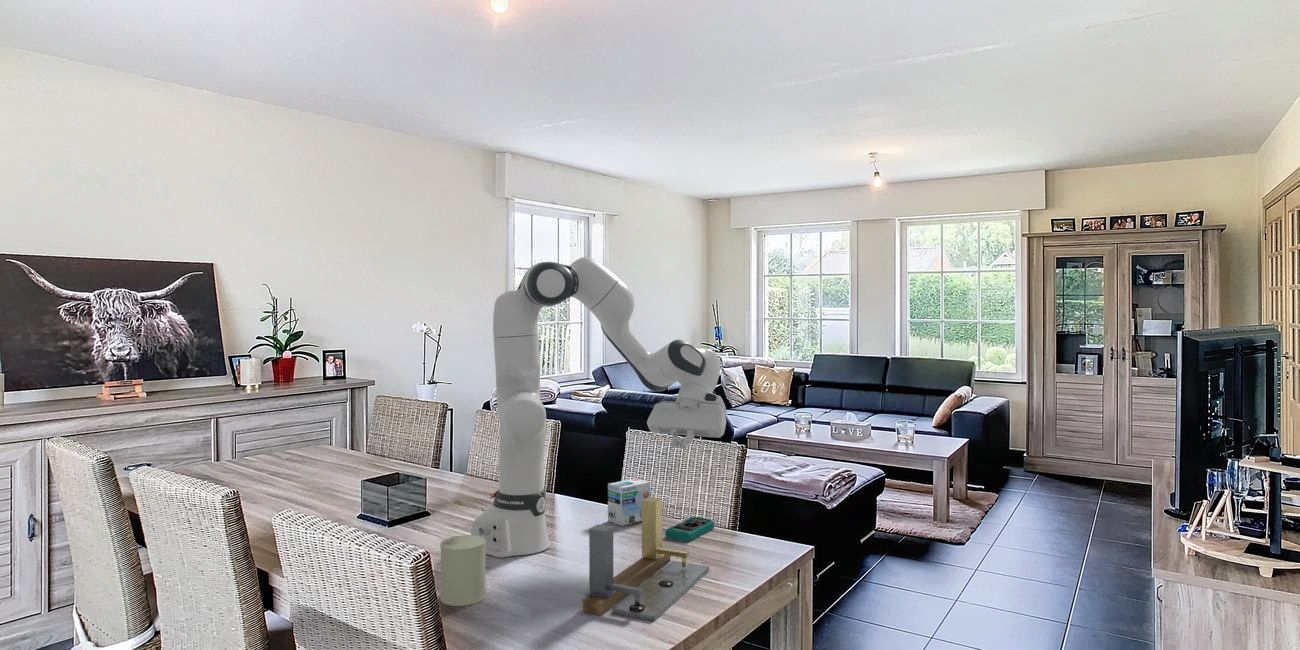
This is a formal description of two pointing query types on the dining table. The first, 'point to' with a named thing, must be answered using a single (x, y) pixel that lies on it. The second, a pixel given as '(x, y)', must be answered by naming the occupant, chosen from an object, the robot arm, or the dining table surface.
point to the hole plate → (661, 591)
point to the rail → (626, 583)
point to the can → (463, 570)
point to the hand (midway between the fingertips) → (678, 446)
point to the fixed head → (604, 566)
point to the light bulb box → (627, 500)
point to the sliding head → (655, 532)
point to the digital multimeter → (689, 529)
